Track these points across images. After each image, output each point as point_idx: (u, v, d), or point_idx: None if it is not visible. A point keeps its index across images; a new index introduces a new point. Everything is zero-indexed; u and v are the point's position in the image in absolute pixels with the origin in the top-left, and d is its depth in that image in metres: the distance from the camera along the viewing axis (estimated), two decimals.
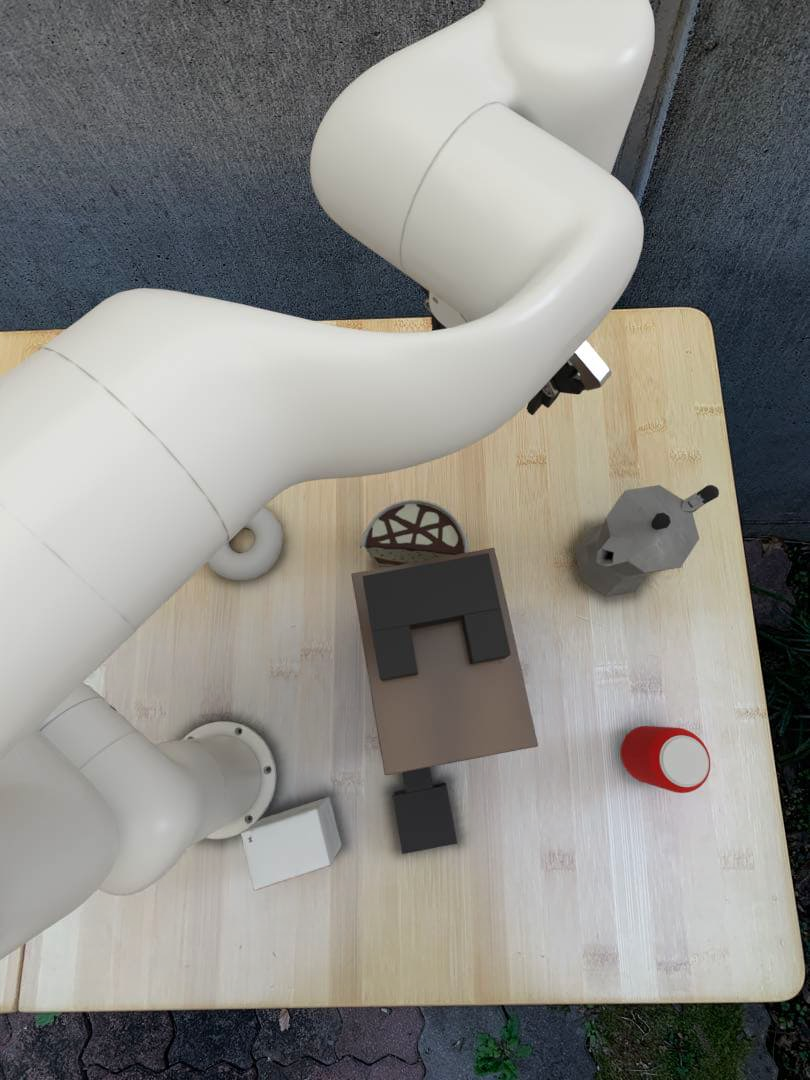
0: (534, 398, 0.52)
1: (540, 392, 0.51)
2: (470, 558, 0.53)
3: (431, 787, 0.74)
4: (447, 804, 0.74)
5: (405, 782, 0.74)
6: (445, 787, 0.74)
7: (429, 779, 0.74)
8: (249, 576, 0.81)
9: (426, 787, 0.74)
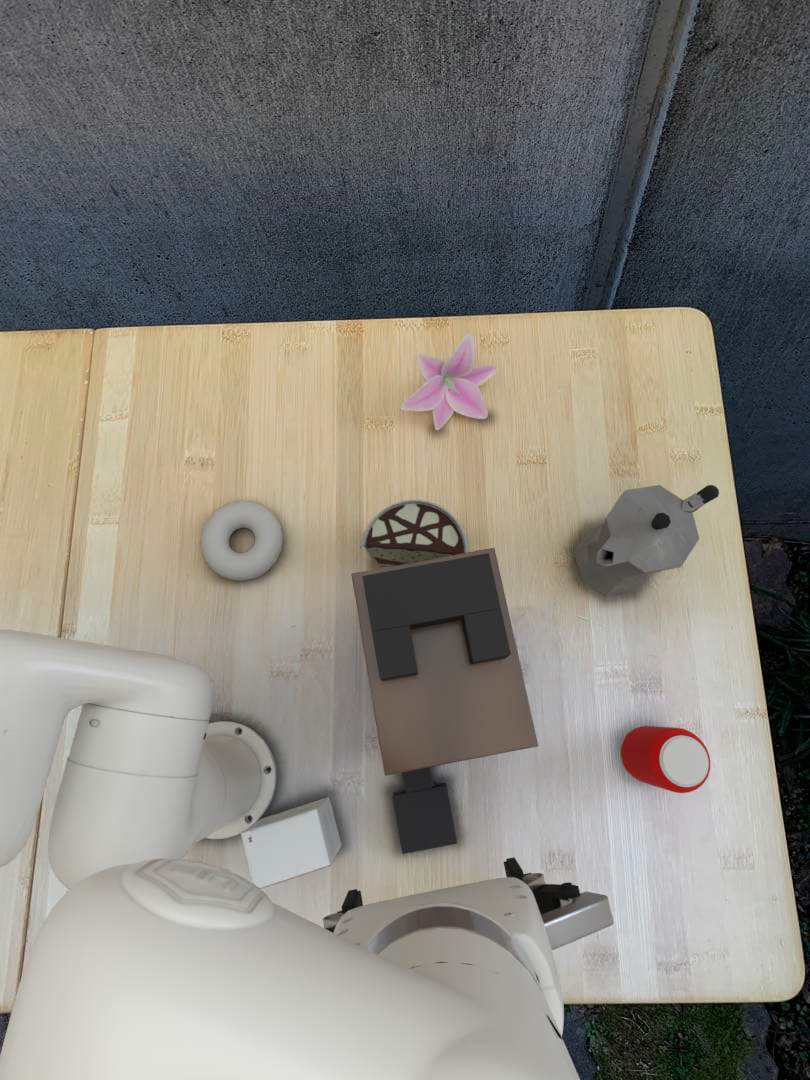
0: None
1: None
2: (470, 558, 0.53)
3: (431, 787, 0.74)
4: (447, 804, 0.74)
5: (405, 782, 0.74)
6: (445, 787, 0.74)
7: (429, 779, 0.74)
8: (249, 576, 0.81)
9: (426, 787, 0.74)
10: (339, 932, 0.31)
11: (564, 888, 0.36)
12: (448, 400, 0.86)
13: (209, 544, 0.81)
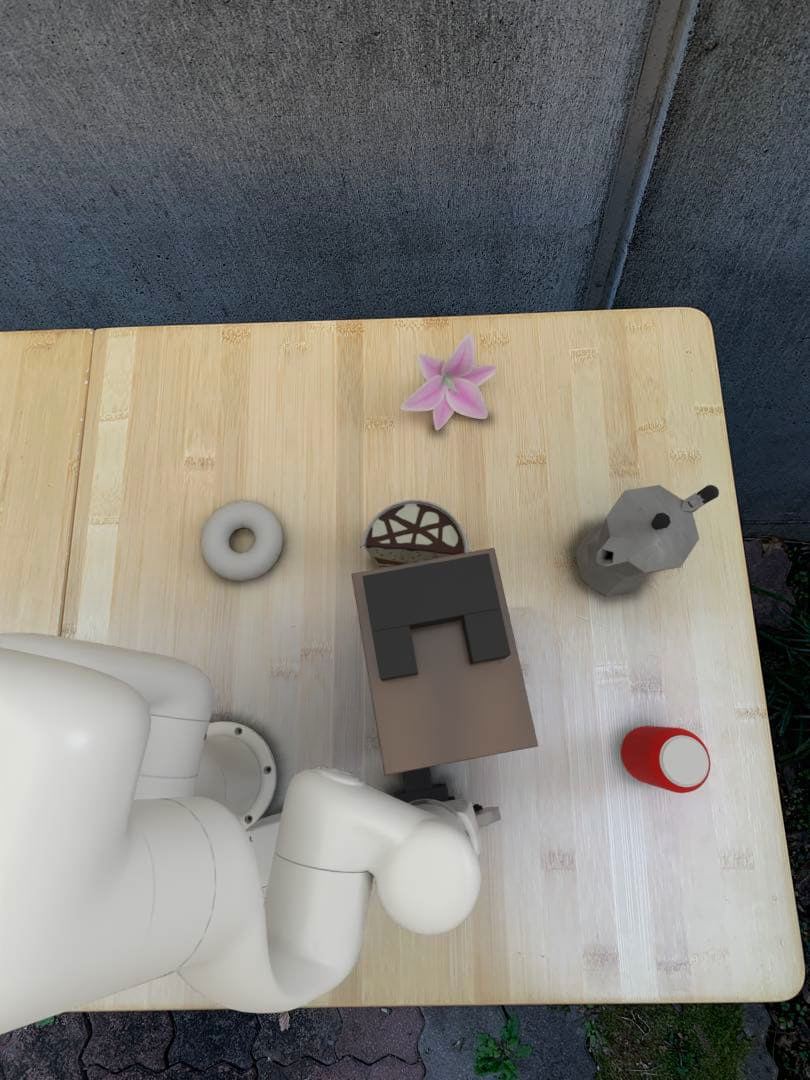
0: None
1: None
2: (470, 558, 0.53)
3: (431, 787, 0.74)
4: None
5: (405, 782, 0.74)
6: (445, 787, 0.74)
7: (429, 779, 0.74)
8: (249, 576, 0.81)
9: (426, 787, 0.74)
10: None
11: (474, 806, 0.70)
12: (448, 400, 0.86)
13: (209, 544, 0.81)
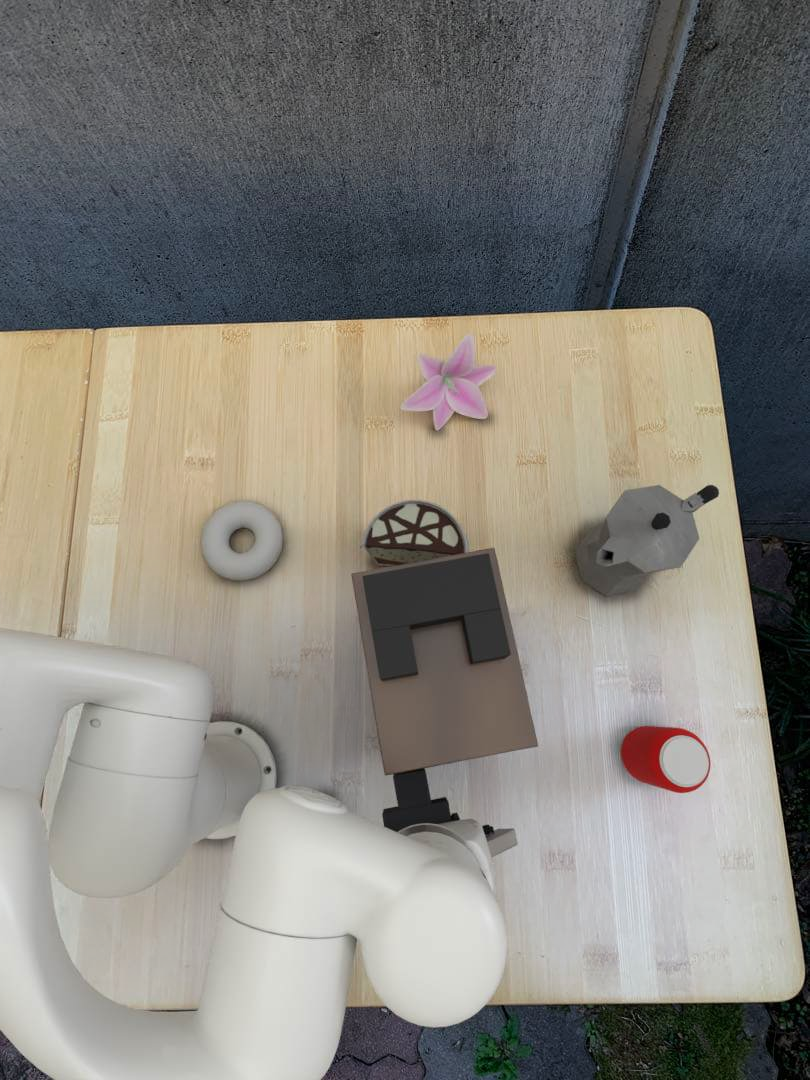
0: None
1: None
2: (470, 558, 0.53)
3: (429, 803, 0.61)
4: None
5: (398, 797, 0.61)
6: (446, 803, 0.61)
7: (427, 793, 0.61)
8: (249, 576, 0.81)
9: (423, 803, 0.61)
10: None
11: (484, 828, 0.57)
12: (448, 400, 0.86)
13: (209, 544, 0.81)
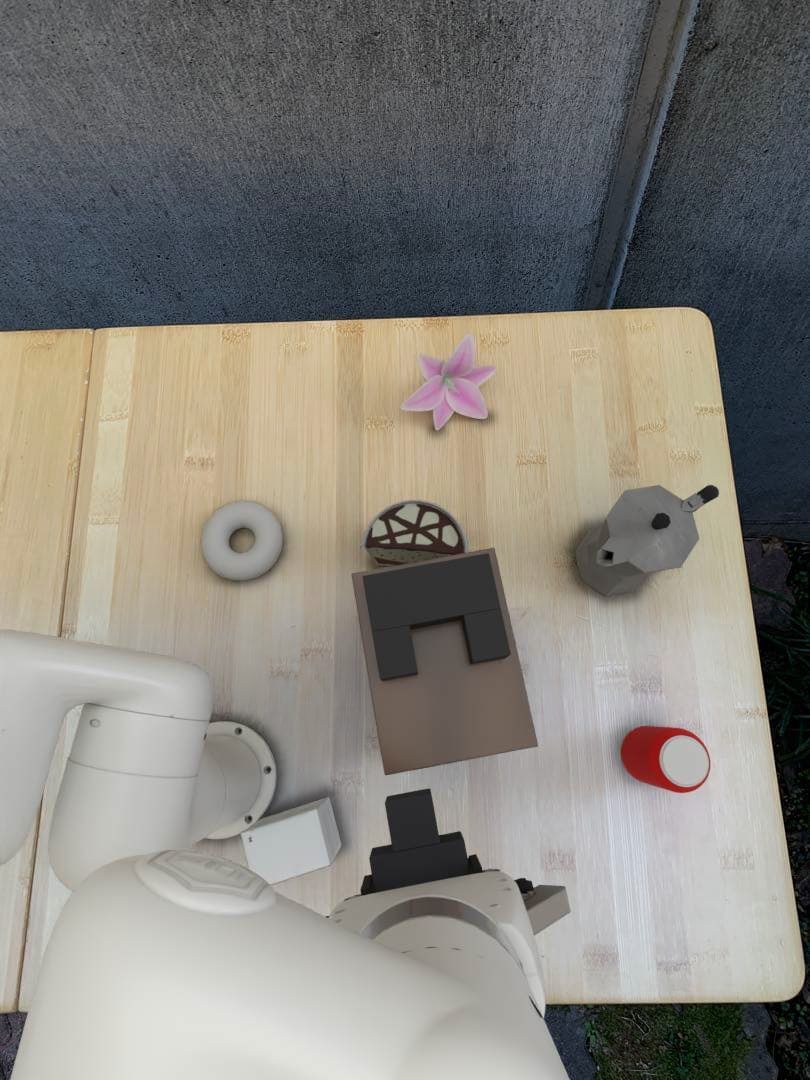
0: None
1: None
2: (470, 558, 0.53)
3: (437, 842, 0.42)
4: (466, 872, 0.42)
5: (392, 833, 0.42)
6: (462, 842, 0.42)
7: (434, 828, 0.42)
8: (249, 576, 0.81)
9: (429, 842, 0.42)
10: None
11: (519, 883, 0.38)
12: (448, 400, 0.86)
13: (209, 544, 0.81)
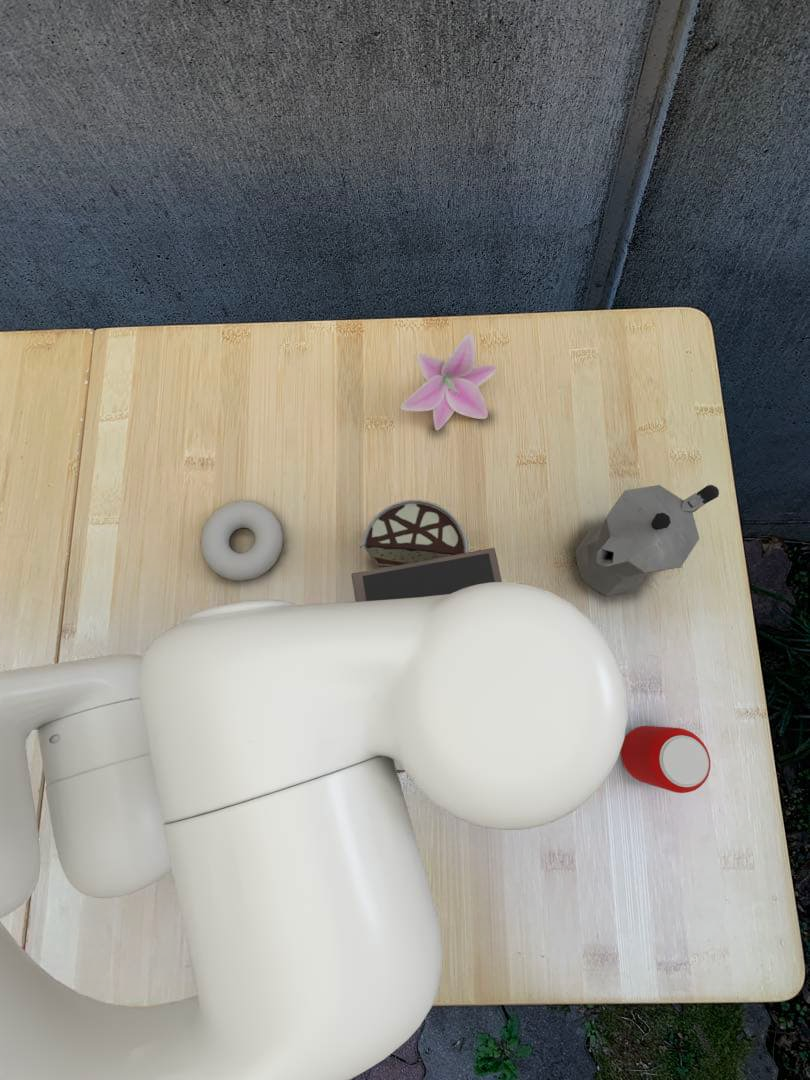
0: None
1: None
2: (470, 558, 0.53)
3: None
4: None
5: None
6: None
7: None
8: (249, 576, 0.81)
9: None
10: None
11: None
12: (448, 400, 0.86)
13: (209, 544, 0.81)
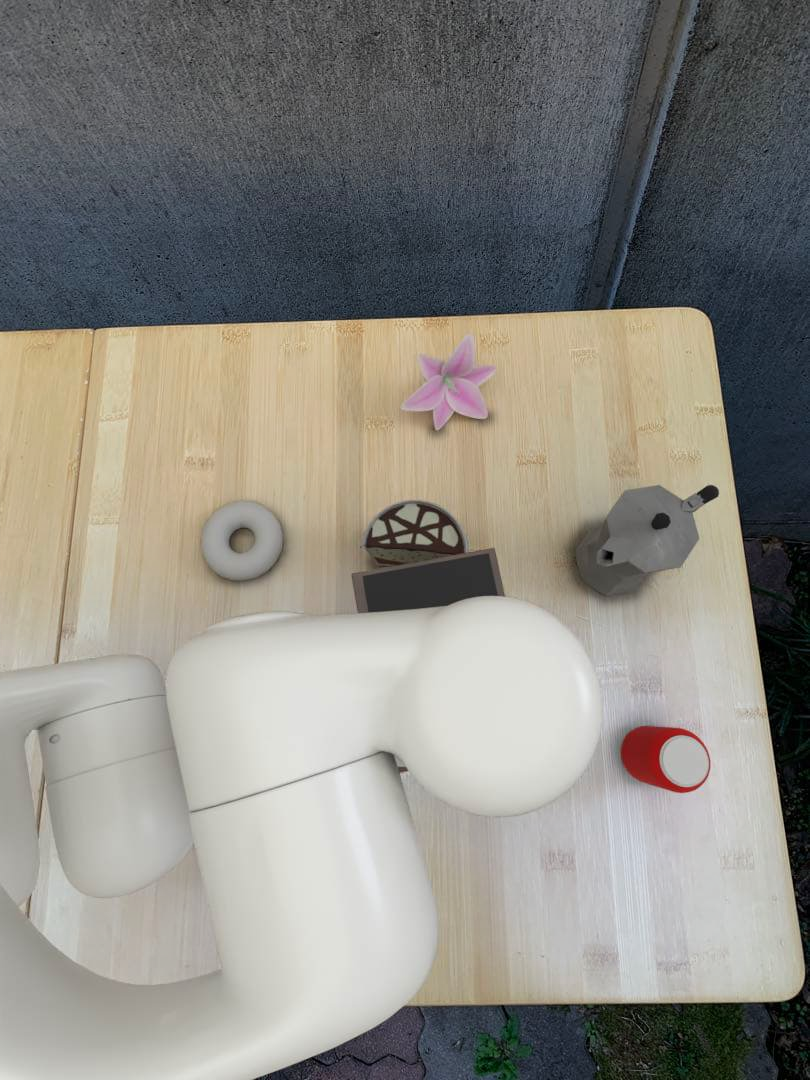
0: None
1: None
2: (470, 558, 0.53)
3: None
4: None
5: None
6: None
7: None
8: (249, 576, 0.81)
9: None
10: None
11: None
12: (448, 400, 0.86)
13: (209, 544, 0.81)
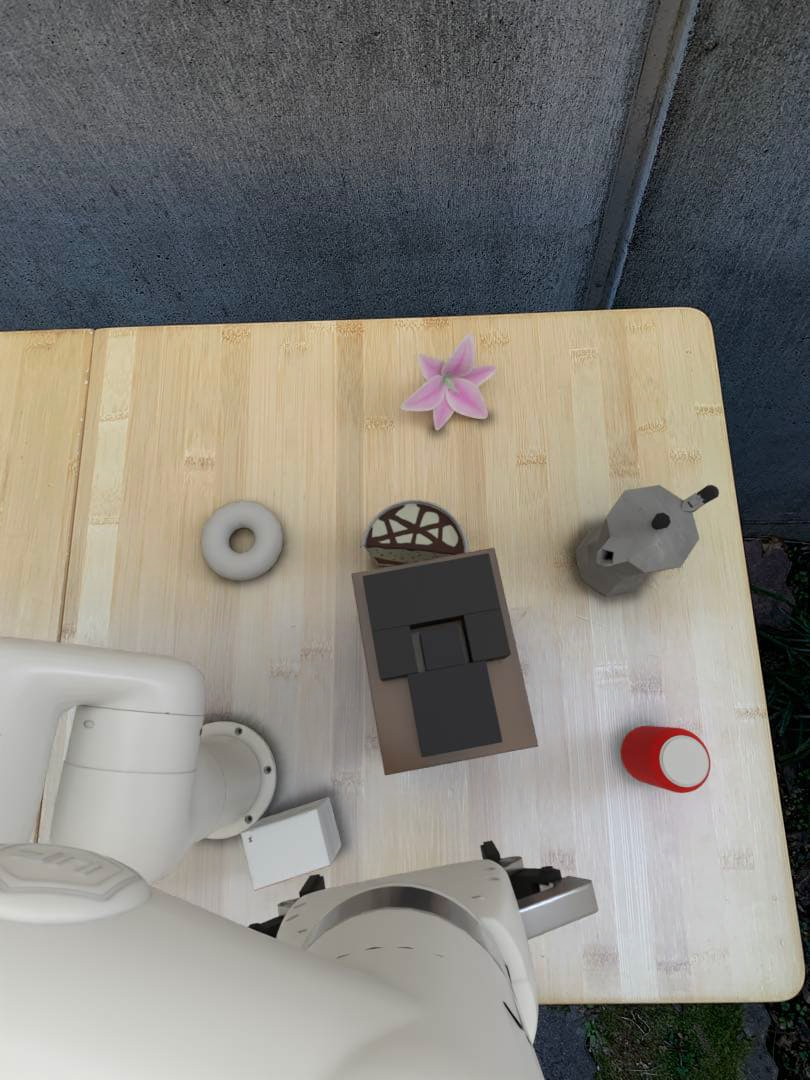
0: None
1: None
2: (470, 558, 0.53)
3: (463, 662, 0.51)
4: (487, 685, 0.50)
5: (425, 656, 0.51)
6: (484, 662, 0.51)
7: (460, 651, 0.51)
8: (249, 576, 0.81)
9: (456, 662, 0.51)
10: (288, 918, 0.28)
11: (544, 872, 0.32)
12: (448, 400, 0.86)
13: (209, 544, 0.81)
